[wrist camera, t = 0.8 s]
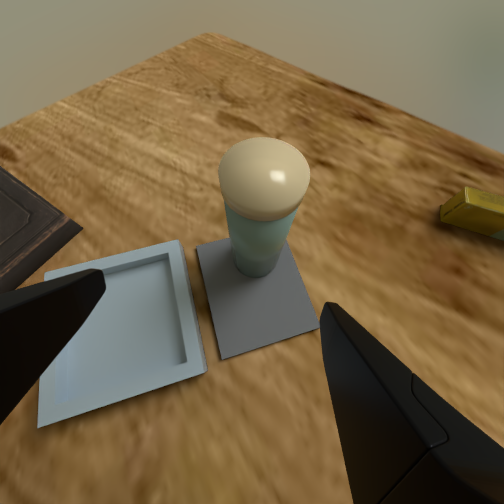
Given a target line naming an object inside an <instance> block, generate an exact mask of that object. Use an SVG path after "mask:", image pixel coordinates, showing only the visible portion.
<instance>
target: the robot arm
mask: <svg viewBox="0 0 504 504" xmlns="http://www.w3.org/2000/svg"><path fill="white" fill-rule="evenodd" d="M105 291H106V283H105V278H104V273H103V271H102V270H100V269H94V268H89V269H86V270H82V271H79V272H75V273H72V274H68V275H65V276H61V277H58V278H55V279H51V280H48V281H44V282H41V283H37V284H34V285H30V286H27V287H23V288H20V289H17V290H13V291H10V292H6V293H3V294H0V425H1V424H2V422H3V421H4V420H5V419H6V418H7V416H8V415H9V414H10V413H11V412H12V410H13V409H14V408H15V407H16V405H17V404H18V403H19V402H20V401H21V399H22V398H23V397H24V396H25V395H26V393H27V392H28V391H29V390H30V388H31V387H32V386H33V385H34V384H35V382H36V381H37V380H38V379H39V378H40V376H41V375H42V374H43V373H44V371H45V370H46V369H47V368H48V367H49V365H50V364H51V363H52V362H53V361H54V359H55V358H56V357H57V356H58V354H59V353H60V352H61V351H62V350H63V348H64V347H65V346H66V345H67V344H68V342H69V341H70V340H71V339H72V337H73V336H74V335H75V334H76V333H77V331H78V330H79V329H80V328H81V326H82V325H83V324H84V322H85V321H86V320H87V318H88V317H89V315H90V314H91V312H92V311H93V309H94V308H95V306H96V305H97V303H98V302H99V300H100V299H101V297H102V296H103V294H104V293H105ZM320 333H321V344H322V354H323V362H324V367H325V372H326V376H327V381H328V386H329V391H330V395H331V400H332V405H333V409H334V414H335V419H336V423H337V428H338V433H339V438H340V442H341V447H342V452H343V456H344V461H345V466H346V471H347V475H348V480H349V485H350V489H351V494H352V499H353V503H354V504H504V448H503V447H502V446H500V445H499V444H498V443H497V442H495V441H494V440H493V439H492V438H490V437H489V436H488V435H487V434H485V433H484V432H483V431H482V430H481V429H479V428H478V427H477V426H476V425H474V424H473V423H472V422H471V421H469V420H468V419H467V418H466V417H464V416H463V415H462V414H461V413H460V412H458V411H457V410H456V409H455V408H454V407H452V406H451V405H450V404H449V403H448V402H446V401H445V400H444V399H443V398H442V397H440V396H439V395H438V394H437V393H436V392H435V391H434V390H432V389H431V388H430V387H429V386H428V385H427V384H426V383H425V382H423V381H422V380H421V379H420V378H419V377H418V376H417V375H416V374H414V373H412V371H411V370H410V369H409V368H408V367H407V366H406V365H405V364H403V363H402V362H401V361H400V360H399V359H398V358H397V357H396V356H395V355H393V354H392V353H391V352H390V351H389V350H388V349H387V348H386V347H385V346H383V345H382V344H381V343H380V342H379V341H378V340H377V339H376V338H375V337H374V336H372V335H371V334H370V333H369V332H368V331H367V330H366V329H365V328H364V327H362V326H361V325H360V324H359V323H358V322H357V321H356V320H355V319H354V318H353V317H351V316H350V315H349V314H348V313H347V312H346V311H345V310H344V309H343V308H341V307H340V306H339V305H338V304H337V303H333V302H326V303H325V304H324V307H323V310H322V313H321V316H320Z"/></svg>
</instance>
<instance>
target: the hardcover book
mask: <svg viewBox="0 0 504 504" xmlns="http://www.w3.org/2000/svg"><path fill="white" fill-rule="evenodd" d="M82 229H83V227H81V226H80V225H78V224H77V223H76V222H74V221H73V220H72V219H70V218H69V217H68V216H66V215H65V214H64V213H62V212H61V211H60V210H58V209H57V208H56V207H54V206H53V205H52V204H50V203H49V202H48V201H46V200H45V199H44V198H42V197H41V196H40V195H38V194H37V193H36V192H34V191H33V190H32V189H30V188H29V187H28V186H26V185H25V184H24V183H22V182H21V181H20V180H18V179H17V178H16V177H14V176H13V175H12V174H10V173H9V172H8V171H6V170H5V169H3V168H2V167H1V166H0V294H3V293H6V292H10V291H13V290H15V289H16V288H17V287H18V286H19V285H21V284H22V283H23V282H24V281H25V280H26V279H27V278H28V277H30V276H31V275H32V274H33V273H34V272H35V271H36V270H37V269H39V268H40V267H41V266H42V265H43V264H44V263H45V262H46V261H47V260H49V259H50V258H51V257H52V256H53V255H54V254H55V253H56V252H58V251H59V250H60V249H61V248H62V247H63V246H64V245H65V244H67V243H68V242H69V241H70V240H71V239H72V238H73V237H74V236H75V235H77V234H78V233H79V232H80V231H81V230H82Z"/></svg>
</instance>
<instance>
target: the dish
mask: <svg viewBox="0 0 504 504" xmlns="http://www.w3.org/2000/svg"><path fill="white" fill-rule="evenodd" d="M89 268H94V269H100V270H102V271H103V273H104V278H105V283H106V291H105V293H104V294H103V296H102V297H101V299H100V300H99V302H98V303H97V305H96V306H95V308H94V309H93V311H92V312H91V314H90V315H89V317H88V318H87V320H86V321H85V322H84V324H83V325H82V326H81V328H80V329H79V330H78V331H77V333H76V334H75V335H74V336H73V337H72V339H71V340H70V341H69V342H68V344H67V345H66V346H65V347H64V348H63V350H62V351H61V352H60V353H59V354H58V356H57V357H56V358H55V359H54V361H53V362H52V363H51V364H50V365H49V367H48V368H47V369H46V370H45V371H44V373H43V374H42V375H41V376H40V384H39V405H38V427H37V428H40V427H43V426H46V425H49V424H52V423H55V422H58V421H61V420H64V419H67V418H70V417H73V416H76V415H79V414H82V413H85V412H88V411H91V410H94V409H97V408H100V407H103V406H106V405H109V404H112V403H115V402H118V401H121V400H124V399H127V398H130V397H133V396H136V395H139V394H142V393H145V392H148V391H151V390H154V389H157V388H160V387H163V386H166V385H169V384H172V383H175V382H178V381H181V380H184V379H187V378H190V377H193V376H196V375H199V374H202V373H205V372H206V371H208V368H207V363H206V358H205V354H204V349H203V344H202V339H201V334H200V329H199V324H198V319H197V314H196V309H195V304H194V299H193V294H192V289H191V284H190V279H189V274H188V270H187V265H186V260H185V255H184V250H183V246H182V245H181V243H180V242H179V240H178V239H177V240H173V241H169V242H165V243H161V244H157V245H153V246H149V247H145V248H141V249H137V250H133V251H129V252H125V253H121V254H117V255H113V256H109V257H105V258H101V259H97V260H93V261H89V262H85V263H81V264H77V265H73V266H69V267H65V268H61V269H57V270H53V271H49V272H45V278H44V281H48V280H51V279H55V278H58V277H61V276H65V275H68V274H72V273H75V272H79V271H82V270H86V269H89Z"/></svg>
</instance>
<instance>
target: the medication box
mask: <svg viewBox="0 0 504 504" xmlns="http://www.w3.org/2000/svg"><path fill="white" fill-rule="evenodd" d="M440 206H441V208H440V220H441V222H444V223H447V224H451V225H454V226H457V227H460V228H463V229H467V230H470V231H473V232H476V233H480V234H483V235H486V236H489V237H493V238H496V239H499V240H503V241H504V197H503V196H499V195H495V194H492V193H488V192H484V191H481V190H477V189H473V188H470V187H465V188H463V189H462V190H461V191H460V192H459V193H457V194H456V195H455V196H453V197H452V198H451V199H449V200H448V201H447V202H446V203H445V204H444V205H440Z"/></svg>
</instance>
